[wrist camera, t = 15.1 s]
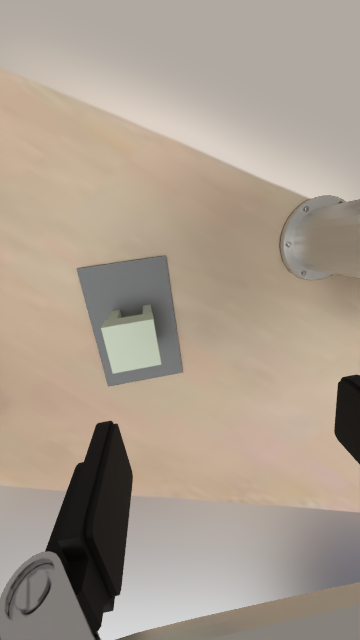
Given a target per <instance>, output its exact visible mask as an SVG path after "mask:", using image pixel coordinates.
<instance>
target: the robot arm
mask: <svg viewBox="0 0 360 640" xmlns="http://www.w3.org/2000/svg"><path fill="white" fill-rule="evenodd" d="M303 209H304V210H303ZM285 245H286V246H285ZM280 249H281V256H282V259H283V262H284V264H285V265H286V267H287V268H288V269H289V271H290V272H291V273H293V274H294V275H296V276H297V277H300V278H302V279H307V280H319V279H324V278H326V277H329V276H331V275H332V274H337V275H343V276H349V277H355V278H360V199H359V200H354V201H350V202H345V201H344V200H342V199H341V198H338V197H335V196H330V195H329V196H319V197H315V198H313V199H310V200H308V201H306V202H304V203H303V204H301V205H300V206H299V207H298V208H296V209H295V210H294V212H293V213H292V214H291V215H290V217H289V218H288V220H287V222H286V223H285V226H284V229H283V231H282V235H281V242H280ZM335 435H336V437H337V439H338V441H339V442H340V443H341V444H342V445H343V446H344V447H345V448H346V450H347V451H348V452H349V453H350V454H351V455H352V456H353V457H354V458H355V460H356V461H357V462H358V463H359V464H360V375H352V376H347V377H343V378H342V379H341V381H340V382H339V383H338V391H337V404H336V417H335ZM132 481H133V476H132V470H131V466H130V463H129V460H128V456H127V453H126V450H125V446H124V443H123V440H122V437H121V433H120V430H119V427H118V424H113V422H112V421H107V422H102V423H98V424H97V425H96V427H95V430H94V433H93V436H92V439H91V442H90V445H89V448H88V451H87V454H86V457H85V460H84V462H82V463H79V464H78V465H77V466H76V468H75V470H74V473H73V476H72V479H71V481H70V484H69V487H68V490H67V492H66V495H65V498H64V501H63V504H62V506H61V509H60V512H59V515H58V517H57V520H56V523H55V526H54V528H53V531H52V534H51V537H50V540H49V542H48V545H47V548H46V551H45V552H41V553H39V554H36V555H34V556H32V557H31V558H30V559H29V560H27V561H26V562H25V563H23V564H22V565H21V567H19V568H18V570H17V571H16V572H15V573H14V574H13V576H12V577H11V579H10V580H9V582H8V583H7V585H6V587H5V589H4V591H3V593H2V595H1V598H0V640H101V639H100V637H99V634H98V632H97V631H98V630H99V628H100V627H101V623H102V616H103V613H104V612H109V611H113V608H114V599H115V596H117V595H119V594H120V591H121V586H122V575H123V566H124V556H125V547H126V538H127V528H128V519H129V509H130V500H131V499H130V498H131V491H132ZM117 640H360V582H358V583H353V584H348V585H344V586H339V587H335V588H330V589H326V590H321V591H316V592H312V593H307V594H302V595H298V596H293V597H289V598H284V599H279V600H275V601H271V602H266V603H262V604H257V605H253V606H248V607H244V608H239V609H235V610H230V611H226V612H221V613H217V614H212V615H208V616H203V617H199V618H195V619H191V620H186V621H182V622H178V623H174V624H170V625H166V626H162V627H158V628H154V629H150V630H146V631H143V632H138V633H135V634H132V635H129V636H126V637H123V638H120V639H117Z"/></svg>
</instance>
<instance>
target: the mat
mask: <svg viewBox="0 0 360 640" xmlns="http://www.w3.org/2000/svg"><path fill="white" fill-rule="evenodd" d="M77 272H78V276H79V279H80V283H81V287H82V291H83V294H84V298H85V302H86V306H87V309H88V313H89V317H90V320H91V324H92V328H93V332H94V335H95V339H96V343H97V346H98V350H99V354H100V358H101V361H102V365H103V369H104V373H105V376H106V380H107V384H108V386H114V385H119V384H124V383H129V382H135V381H140V380H145V379H151V378H156V377H161V376H166V375H172V374H177V373H182V372H183V370H182V364H181V357H180V350H179V343H178V336H177V330H176V323H175V316H174V309H173V303H172V296H171V289H170V282H169V276H168V269H167V262H166V256H159V257H152V258H146V259H139V260H132V261H125V262H118V263H111V264H105V265H98V266H91V267H84V268H78V269H77ZM145 305H151V309H152V313H153V318H154V323H155V329H156V334H157V340H158V345H159V351H160V357H161V365H156V366H151V367H146V368H140V369H135V370H130V371H124V372H119V373H114V374H113V373H112V369H111V365H110V361H109V357H108V353H107V350H106V346H105V342H104V338H103V334H102V330H101V327H102V325H103V323H104V321H105V320H108V318H109V316H110V314H111V312H112V311H115V310H120V312H121V316H122V317H121V318H123V317H129V316H135V315H141V314H143V306H145Z"/></svg>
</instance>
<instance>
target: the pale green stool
mask: <svg viewBox="0 0 360 640" xmlns="http://www.w3.org/2000/svg"><path fill="white" fill-rule="evenodd" d="M121 317H122V316H121V312H120V310H115V311H112V312H111V314H110V316H109V318H108V320H105V321H104V323H103V325H102V327H101V330H102V334H103V338H104V342H105V346H106V350H107V353H108V357H109V361H110V365H111V369H112V373H113V374H114V373H119V372H124V371H130V370H135V369H140V368H146V367H151V366H156V365H161V357H160V351H159V345H158V340H157V334H156V329H155V323H154V318H153V313H152V309H151V305H145V306H143V314H141V315H135V316H129V317H123V318H121Z"/></svg>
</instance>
